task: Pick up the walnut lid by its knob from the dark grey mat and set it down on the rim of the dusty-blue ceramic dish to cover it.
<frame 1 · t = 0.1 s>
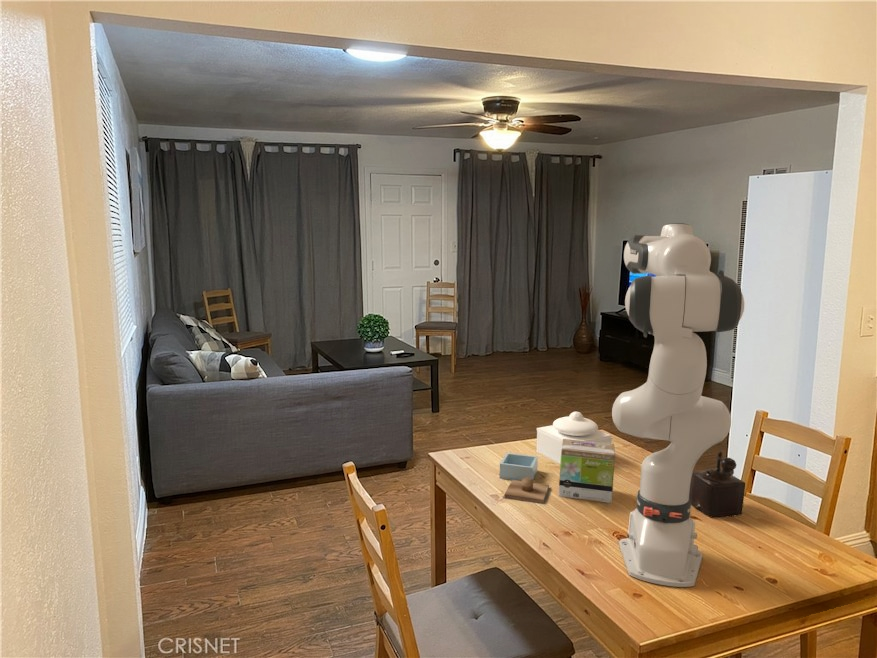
hand: (669, 334, 172), 48 cm above the table, tool pointing down, fingers open, 8 cm apart
white lidded container: (572, 457, 213), on the table
lid: (527, 492, 182), resting on mat
coffee grinder: (719, 513, 172), on the table
dish: (518, 475, 196), on the table
mat: (527, 494, 182), on the table
tea box: (585, 494, 183), on the table
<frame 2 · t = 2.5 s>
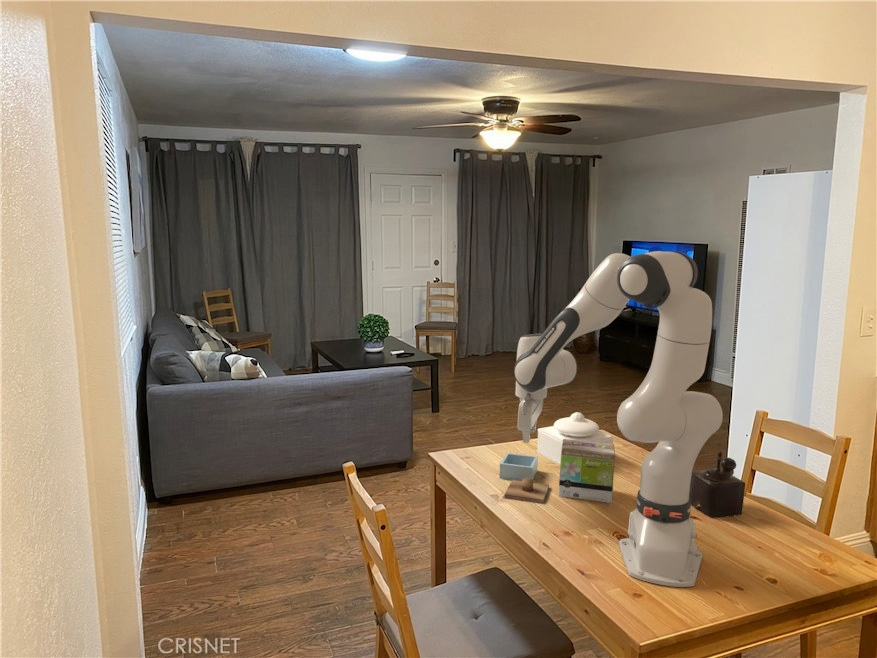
hand: (529, 436, 180), 17 cm above the table, tool pointing down, fingers open, 8 cm apart
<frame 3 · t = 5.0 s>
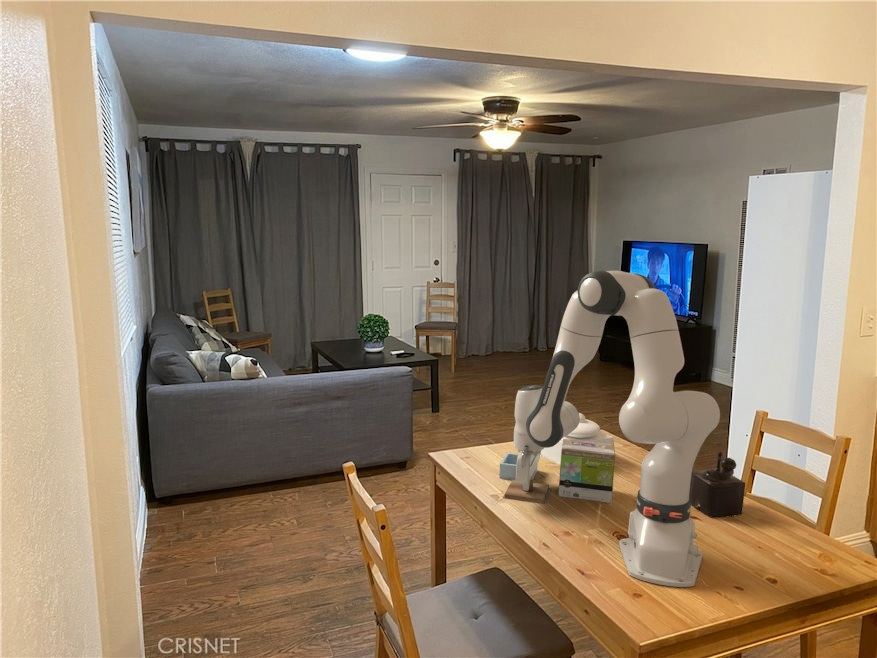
hand: (527, 486, 182), 2 cm above the table, tool pointing down, fingers closed on lid, 3 cm apart
lid: (527, 492, 182), resting on mat, touching gripper
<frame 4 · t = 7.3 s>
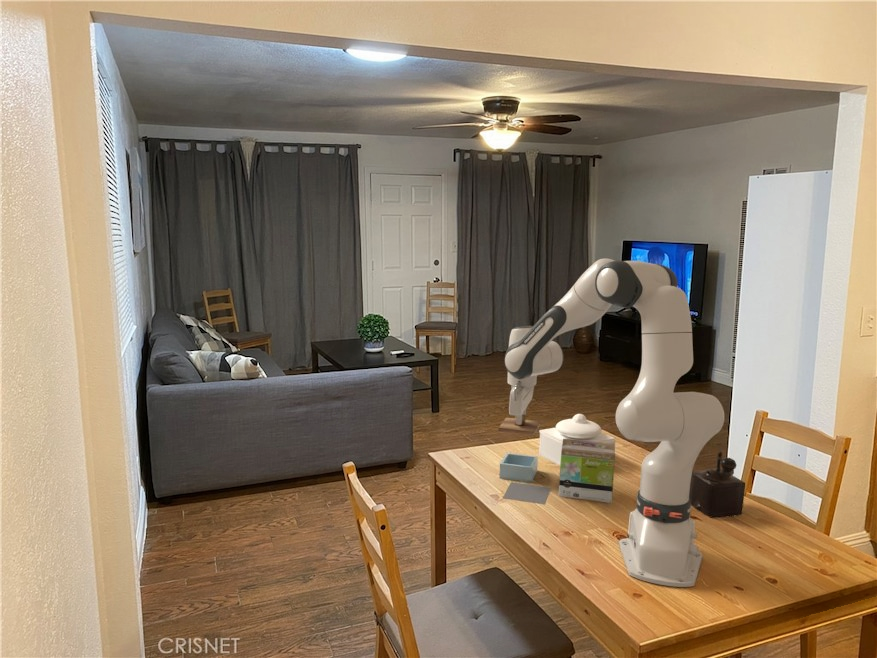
hand: (520, 421, 193), 17 cm above the table, tool pointing down, fingers closed on lid, 3 cm apart
lid: (519, 427, 194), point 15 cm above the table, touching gripper
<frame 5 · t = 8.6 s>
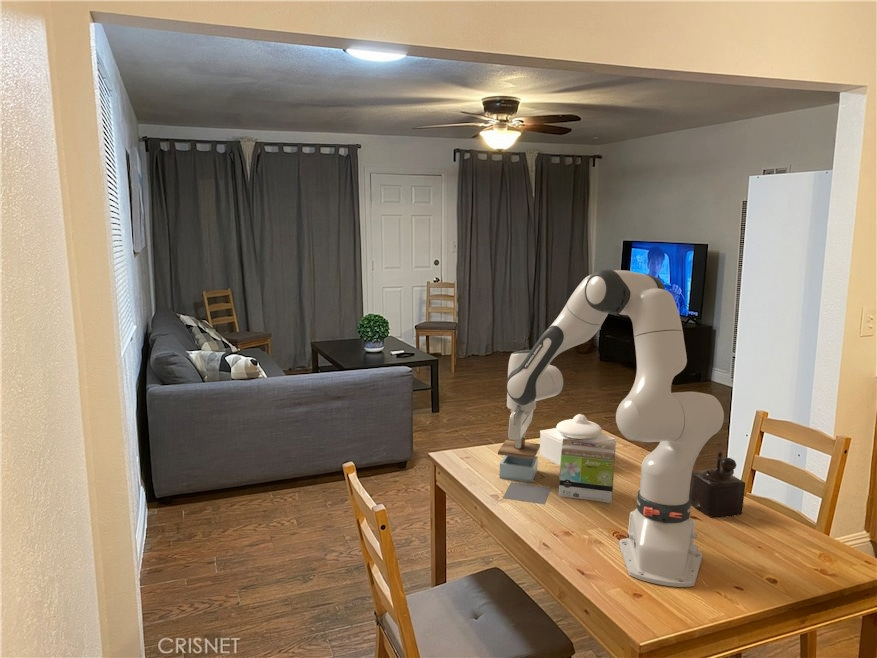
hand: (519, 444, 195), 10 cm above the table, tool pointing down, fingers closed on lid, 3 cm apart
lid: (519, 450, 195), point 8 cm above the table, touching gripper
when the fingers open (8 cm above the table, at t = 9.7 s): lid stays where it is, resting on dish.
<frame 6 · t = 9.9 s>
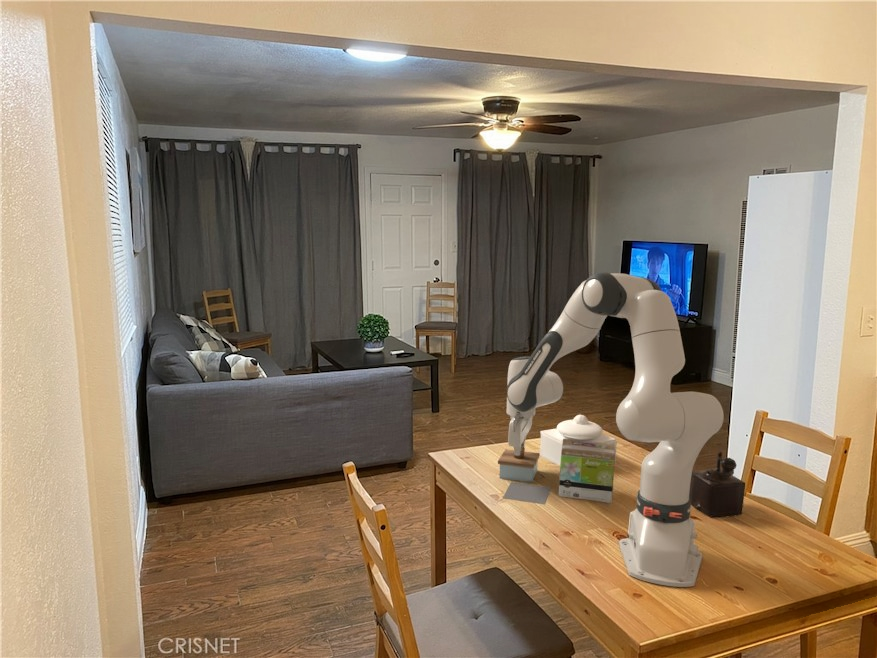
hand: (519, 451, 195), 8 cm above the table, tool pointing down, fingers open, 5 cm apart
lid: (519, 460, 195), point 5 cm above the table, touching dish
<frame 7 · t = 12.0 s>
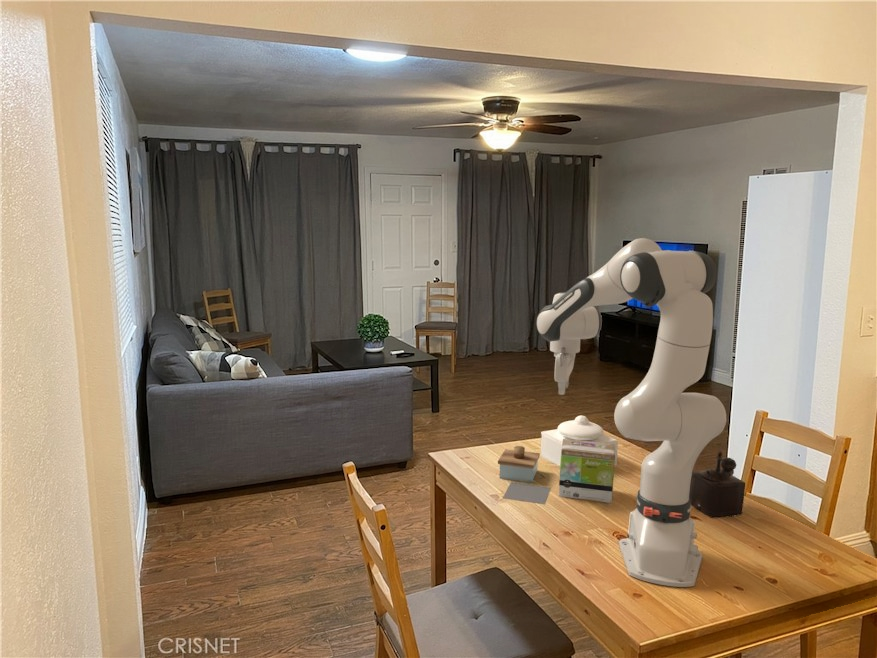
hand: (563, 390, 190), 28 cm above the table, tool pointing down, fingers open, 8 cm apart
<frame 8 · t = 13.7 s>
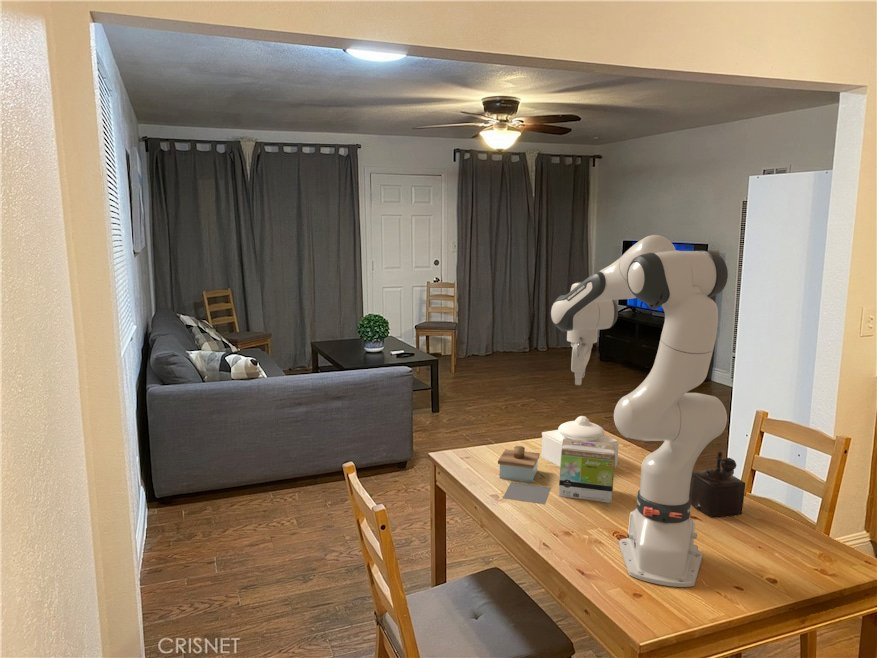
hand: (579, 380, 189), 31 cm above the table, tool pointing down, fingers open, 8 cm apart
at the end: lid 0.0 cm off-centre on the dish, point 5.0 cm above the dish's base; lid tilted 0°; the gripper is holding nothing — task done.
